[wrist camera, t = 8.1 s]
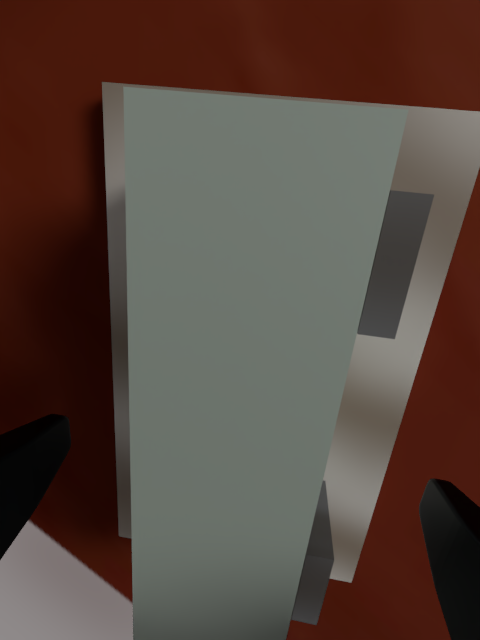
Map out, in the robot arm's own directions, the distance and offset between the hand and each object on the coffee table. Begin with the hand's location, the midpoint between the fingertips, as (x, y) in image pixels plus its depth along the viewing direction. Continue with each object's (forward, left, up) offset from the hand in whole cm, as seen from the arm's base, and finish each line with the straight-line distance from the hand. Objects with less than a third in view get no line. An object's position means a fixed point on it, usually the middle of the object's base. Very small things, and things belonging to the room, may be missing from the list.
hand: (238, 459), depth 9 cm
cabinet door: (0, 0, -4) cm, 4 cm away
